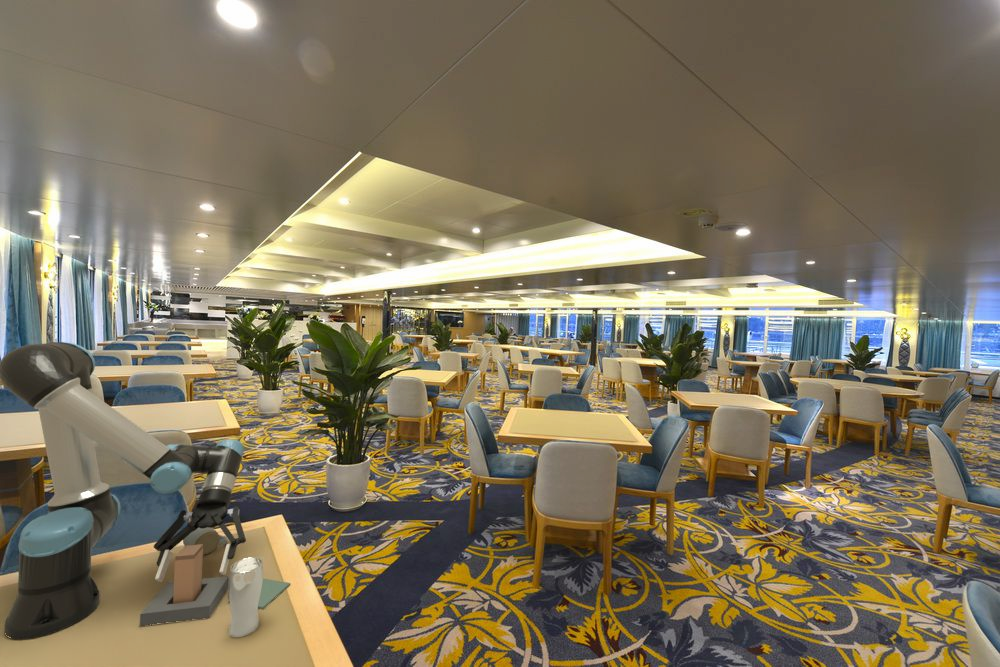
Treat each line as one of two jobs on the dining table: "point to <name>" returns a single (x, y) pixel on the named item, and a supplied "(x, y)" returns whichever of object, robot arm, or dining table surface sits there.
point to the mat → (270, 591)
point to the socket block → (203, 607)
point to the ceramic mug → (205, 539)
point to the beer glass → (244, 595)
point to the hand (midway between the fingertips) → (191, 576)
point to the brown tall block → (188, 574)
